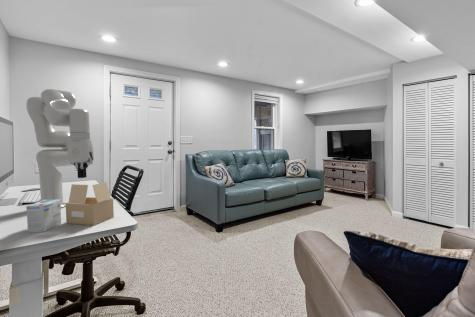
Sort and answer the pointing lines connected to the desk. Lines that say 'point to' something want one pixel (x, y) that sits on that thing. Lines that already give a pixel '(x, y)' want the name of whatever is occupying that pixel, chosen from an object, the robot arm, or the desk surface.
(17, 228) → the desk surface
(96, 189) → the flap
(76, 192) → the flap
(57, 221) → the light bulb box
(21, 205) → the desk surface
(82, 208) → the carton
